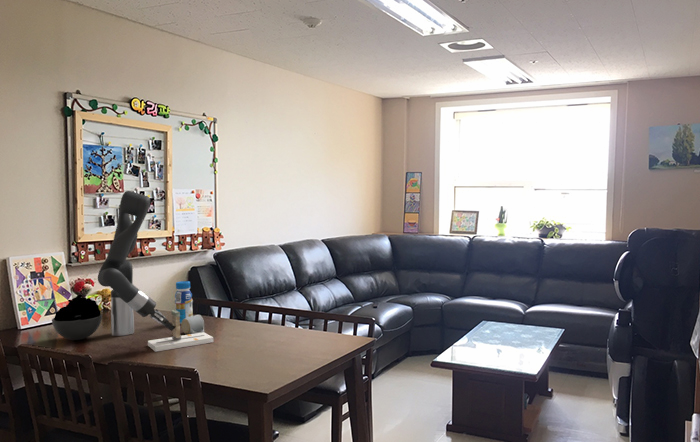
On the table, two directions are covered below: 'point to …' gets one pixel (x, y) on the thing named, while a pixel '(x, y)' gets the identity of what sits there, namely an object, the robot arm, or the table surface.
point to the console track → (180, 341)
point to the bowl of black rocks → (77, 318)
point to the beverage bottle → (183, 300)
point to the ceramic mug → (193, 324)
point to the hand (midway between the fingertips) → (172, 328)
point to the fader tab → (176, 325)
